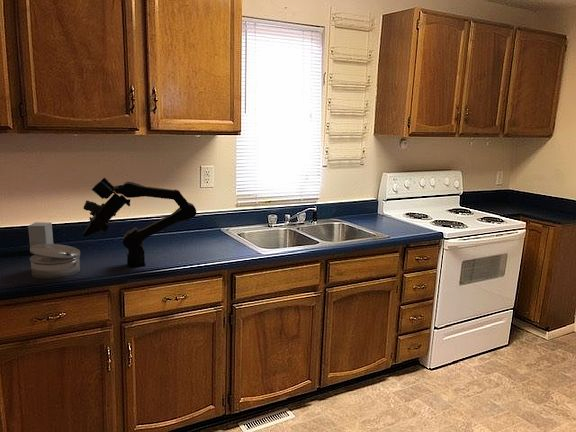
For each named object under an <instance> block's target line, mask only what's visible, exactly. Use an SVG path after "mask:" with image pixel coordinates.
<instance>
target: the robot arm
mask: <svg viewBox="0 0 576 432" xmlns="http://www.w3.org/2000/svg"><path fill="white" fill-rule="evenodd" d="M91 191H93V192H94V193H95V194H96V195H97V196H98V197H99V198H101V199H102V200H104V199H106V200H107V199H108V200H107V201H106V202H104V203H101V204H98V203H97V202H94V201H90V200H85V203H84V205H83V207H82V208H83V210H85V211H89V215H90V216H89V223H88V225H87V227H86V229H85V230H84V232H83V233H82V236H83V237H84V238H86V237H88V236H90V235H93V234H95V233H98V232H99V231H102V232H104V233H106V232H107V231H108V230H109V221H110V220H111V219H112V218H113V217H116V215H117V213H118V212H119V211H120V210H121V209H122V208H123V207H124V206H125V205H126V206H128V207H131V199H132V198H141V197H146V198H155V199H157V198H158V199H165V200H173V201H174V203H176V204H177V206H178V208H177V209H176V210H175V211H173V212H172V213H171V214H168V215H166V216H164V217H162V218H161V219H158V220H157V221H154V222H153V223H151V224H148V225H146V226H144V227H142V228H138V227H137V226H134V227H133V228H132V229H130V230H127V231H126V233H124V235H123V239H122V244H123V246H124V248H126V249H127V253H126V255H125V257H126V265H127V266H128V268H135V267H143V266H144V267H145V266H146V262H145V249H144V241H145V240H146V239H147V238H149V237H151V236H153V235H155V234H157V233H160V232H161V231H163V230H164V229H166V228H168V227H170V226H173V225H174V224H176V223H179V222H185V221H188V220H191V219H194V218H195V217H196V215H197V208H196V207H195V205H194V204H193V203H191V202H189V201H188V200H187V199H186V198H185V197H184V196H183V194H182V193H181V191H180V190H178V189H170V188H169V189H168V188H160V187H154V186H153V187H152V186H145V185H142V184H140V183H136V182H133V181H126V182H125V183H123V184H121V185H113V184H112V183H111V182H110V181H109V180H108V179H107V178H106V177H103V178H102V179H101V180H100V181H98V182H97V183H96V184H95V185H94V186H93V187H92V188H91ZM110 196H111V197H110ZM130 198H131V199H130ZM91 216H92V217H91Z"/></svg>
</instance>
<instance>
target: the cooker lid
mask: <svg viewBox="0 0 576 432" xmlns="http://www.w3.org/2000/svg"><path fill="white" fill-rule="evenodd" d="M29 252H30V254H33V255H38V256H43V257H48V258H74V257H78V256H79V255H80V256H81V250H80V249H79V248H76V247H75V246H70V245H66V244H59V243H53V244H37V245H33V246H31V247H30V246H29Z"/></svg>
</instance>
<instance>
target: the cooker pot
mask: <svg viewBox="0 0 576 432" xmlns="http://www.w3.org/2000/svg"><path fill="white" fill-rule="evenodd" d="M80 257H81V254H80V255H79V256H78V257H74V258H48V257H43V256H38V255H35V254H33V255H31V256H30V257H29V262H30V269H31V276H32V277H34V278H36V279H37V278H38V279H43V280H45V279H49V280H52V279H61V278H66V277H71V276H73V275H76V274H78V273H79V272H80V270H81V263H80V262H81V260H80Z"/></svg>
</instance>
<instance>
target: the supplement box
mask: <svg viewBox="0 0 576 432" xmlns="http://www.w3.org/2000/svg"><path fill="white" fill-rule="evenodd" d="M52 224H53V223H52V222H49V221H48V222H39V221H38V222H37V221H36V222H33V223H32V224H31V223H30V224H29V225H27V228H28V237H29V238H28V239H29V248H30V247H31V246H33V245H37V244H54V235H53V225H52Z"/></svg>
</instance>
